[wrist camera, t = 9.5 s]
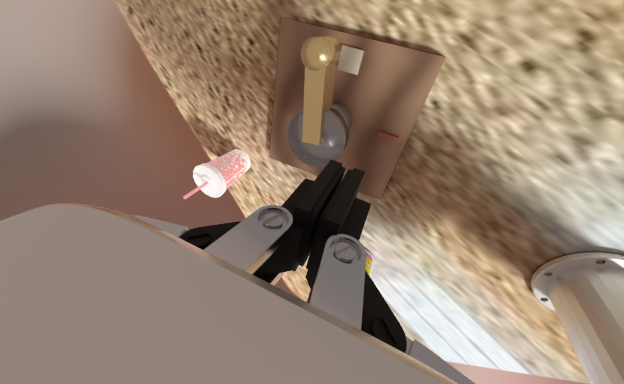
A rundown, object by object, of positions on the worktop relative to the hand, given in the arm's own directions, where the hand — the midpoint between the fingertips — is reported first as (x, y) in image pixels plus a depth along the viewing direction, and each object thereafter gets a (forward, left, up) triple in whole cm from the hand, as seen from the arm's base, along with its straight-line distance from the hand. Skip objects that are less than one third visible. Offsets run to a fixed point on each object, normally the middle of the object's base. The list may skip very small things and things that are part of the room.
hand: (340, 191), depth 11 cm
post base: (+6, +5, -25) cm, 26 cm away
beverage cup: (+23, +19, -25) cm, 39 cm away
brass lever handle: (+7, +2, -17) cm, 18 cm away
